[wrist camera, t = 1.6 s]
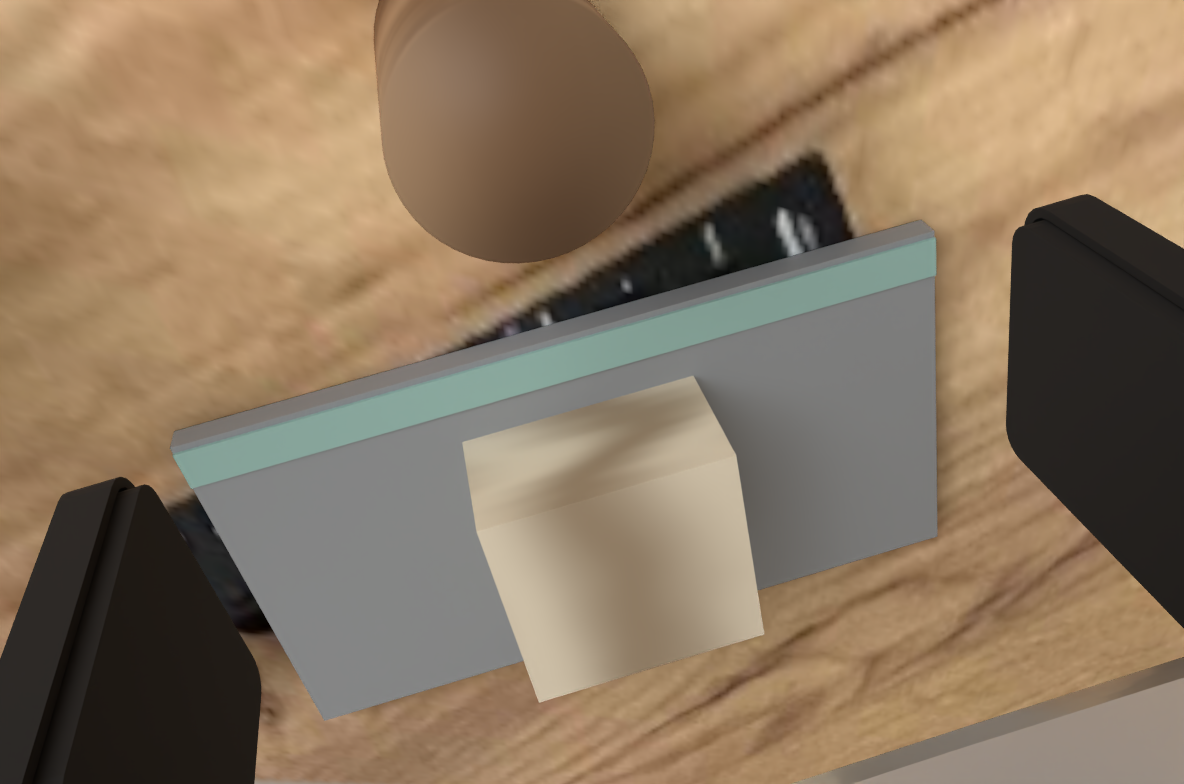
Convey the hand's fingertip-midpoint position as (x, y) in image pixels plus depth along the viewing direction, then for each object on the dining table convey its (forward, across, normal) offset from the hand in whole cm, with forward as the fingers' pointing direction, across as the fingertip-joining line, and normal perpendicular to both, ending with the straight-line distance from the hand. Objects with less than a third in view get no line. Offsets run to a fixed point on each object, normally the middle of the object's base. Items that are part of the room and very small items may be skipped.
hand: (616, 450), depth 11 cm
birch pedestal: (+16, -1, +14) cm, 21 cm away
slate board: (+16, -1, +14) cm, 21 cm away
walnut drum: (+16, -1, 0) cm, 16 cm away
